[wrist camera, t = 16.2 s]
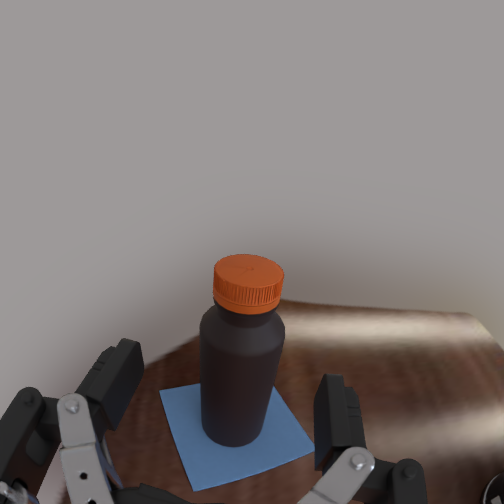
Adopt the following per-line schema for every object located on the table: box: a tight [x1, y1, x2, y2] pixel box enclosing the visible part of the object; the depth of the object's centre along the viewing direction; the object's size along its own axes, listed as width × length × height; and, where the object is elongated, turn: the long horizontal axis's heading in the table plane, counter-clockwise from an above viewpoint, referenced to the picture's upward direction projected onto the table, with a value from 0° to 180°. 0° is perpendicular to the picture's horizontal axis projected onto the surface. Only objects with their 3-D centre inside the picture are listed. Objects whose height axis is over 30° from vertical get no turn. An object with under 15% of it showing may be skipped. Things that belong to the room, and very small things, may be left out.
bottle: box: [200, 254, 285, 448], centre depth 25 cm, size 7×7×20 cm
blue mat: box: [159, 383, 315, 491], centre depth 29 cm, size 14×14×1 cm
